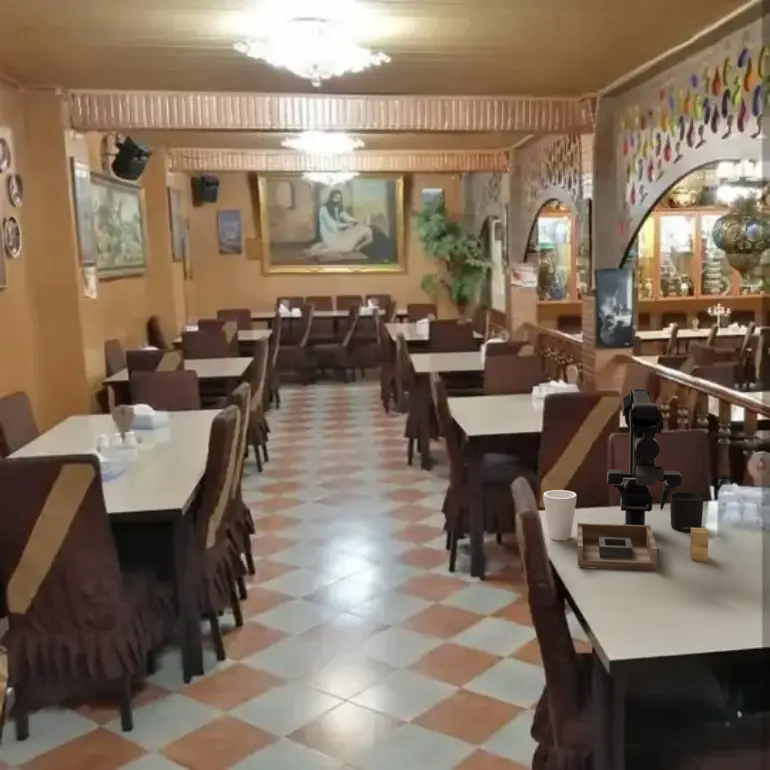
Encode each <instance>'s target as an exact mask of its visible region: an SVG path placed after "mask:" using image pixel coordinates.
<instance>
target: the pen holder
mask: <svg viewBox="0 0 770 770" xmlns="http://www.w3.org/2000/svg"><path fill="white" fill-rule="evenodd" d="M669 498H670V500H669V501H670V502H669V503H670V505H669V507H670V510H669V511H670V512H669V513H670V527H671V528H672V530H674V529H675V530H674V531H677V530H678V532H681V531H682V532H683V533H691V528H703V527H702V526H703V525H702V523H703V513H704V512H703V511H704V510H703V509H704V498H703V497H702V496H701V495H700V494H699V493H696V492H692V491H675V492H672V493H671V494H670V495H669Z"/></svg>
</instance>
